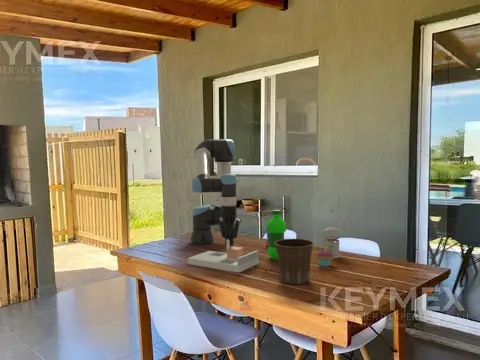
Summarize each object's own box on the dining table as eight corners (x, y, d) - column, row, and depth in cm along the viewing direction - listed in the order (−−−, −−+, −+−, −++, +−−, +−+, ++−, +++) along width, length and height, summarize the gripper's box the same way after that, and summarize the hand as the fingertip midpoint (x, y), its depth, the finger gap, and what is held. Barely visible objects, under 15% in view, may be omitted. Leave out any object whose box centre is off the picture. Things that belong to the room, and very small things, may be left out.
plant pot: (287, 288, 148) (287, 248, 148) (267, 277, 163) (267, 240, 162) (321, 283, 155) (321, 244, 154) (300, 273, 170) (299, 237, 169)
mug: (261, 246, 226) (261, 228, 226) (271, 243, 233) (271, 226, 232) (277, 249, 218) (277, 230, 217) (287, 246, 224) (287, 228, 224)
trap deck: (187, 263, 187) (187, 250, 187) (209, 256, 202) (209, 244, 202) (239, 272, 171) (239, 258, 171) (258, 263, 186) (258, 250, 186)
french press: (330, 258, 194) (329, 210, 194) (316, 254, 205) (316, 208, 204) (345, 256, 199) (345, 209, 198) (331, 252, 209) (331, 207, 208)
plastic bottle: (290, 257, 197) (290, 210, 196) (278, 261, 189) (278, 212, 188) (275, 254, 204) (274, 208, 203) (263, 258, 196) (262, 210, 195)
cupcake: (321, 262, 188) (321, 238, 187) (337, 265, 182) (337, 240, 181) (311, 265, 182) (311, 240, 181) (327, 268, 176) (327, 243, 175)
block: (226, 257, 187) (226, 248, 186) (233, 255, 192) (233, 246, 191) (237, 259, 183) (237, 250, 183) (243, 256, 188) (243, 247, 188)
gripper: (213, 205, 189) (214, 252, 190) (235, 206, 182) (236, 255, 183) (222, 203, 195) (223, 249, 196) (243, 205, 188) (244, 252, 189)
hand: (229, 252), depth 190 cm, fingers closed
